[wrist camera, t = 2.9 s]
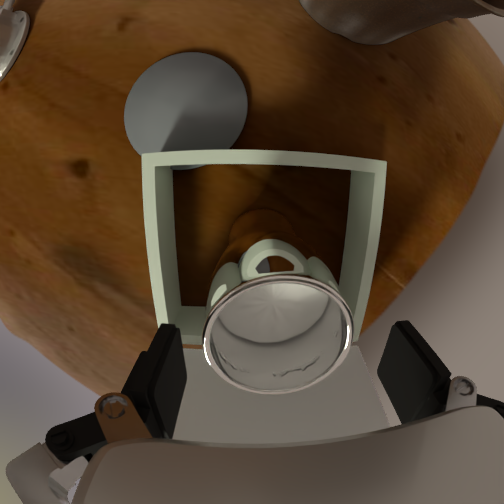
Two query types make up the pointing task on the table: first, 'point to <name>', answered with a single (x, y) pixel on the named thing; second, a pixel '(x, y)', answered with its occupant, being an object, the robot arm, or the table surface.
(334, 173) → the table surface
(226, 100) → the grey round coaster
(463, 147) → the table surface
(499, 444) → the robot arm
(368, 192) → the frame
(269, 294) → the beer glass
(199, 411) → the lid
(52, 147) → the table surface
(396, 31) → the plant pot
